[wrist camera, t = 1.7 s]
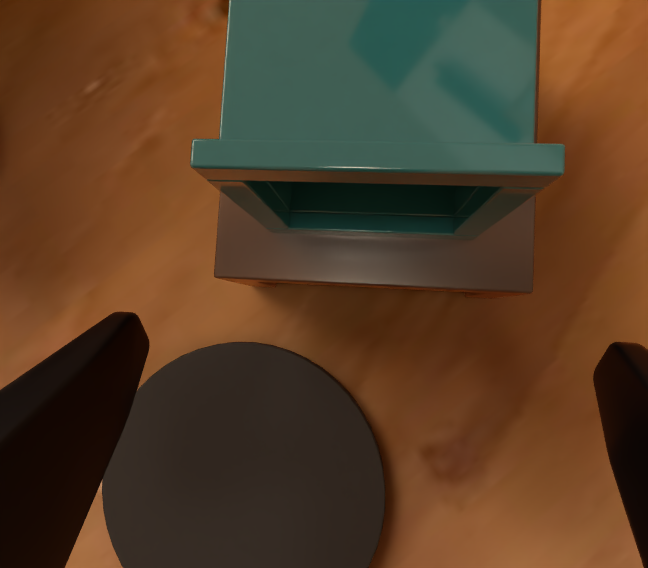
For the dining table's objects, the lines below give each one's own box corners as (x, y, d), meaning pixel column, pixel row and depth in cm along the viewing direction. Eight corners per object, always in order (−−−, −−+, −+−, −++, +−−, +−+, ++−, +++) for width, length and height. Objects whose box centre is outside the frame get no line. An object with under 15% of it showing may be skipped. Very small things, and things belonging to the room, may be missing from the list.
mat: (442, 539, 19) (445, 546, 18) (197, 687, 20) (192, 698, 19) (285, 288, 20) (282, 288, 20) (62, 434, 21) (53, 438, 20)
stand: (491, 298, 19) (534, 293, 14) (251, 286, 20) (212, 277, 16) (499, 59, 20) (542, -24, 15) (266, 61, 21) (234, -16, 16)
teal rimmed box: (473, 240, 15) (566, 175, 8) (270, 232, 15) (188, 167, 8) (481, 24, 15) (575, -222, 8) (284, 27, 16) (216, -196, 9)
